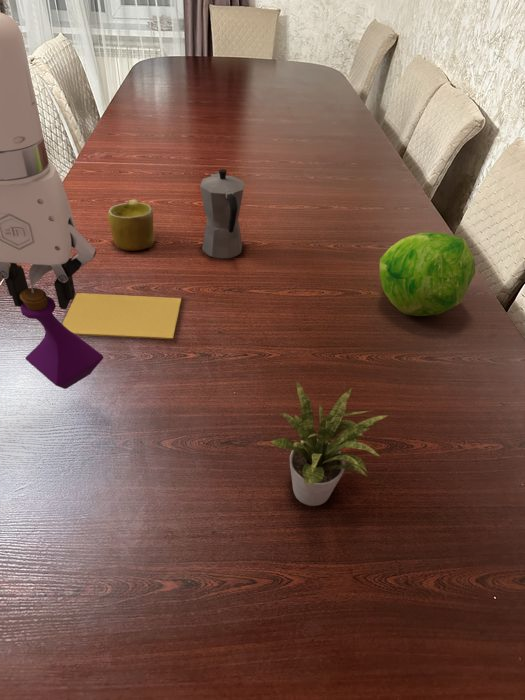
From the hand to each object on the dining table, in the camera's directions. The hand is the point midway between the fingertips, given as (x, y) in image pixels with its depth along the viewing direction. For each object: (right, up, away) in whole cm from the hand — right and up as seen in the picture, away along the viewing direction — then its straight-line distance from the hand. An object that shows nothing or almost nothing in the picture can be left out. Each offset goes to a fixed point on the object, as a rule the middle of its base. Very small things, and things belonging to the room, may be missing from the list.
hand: (44, 299), depth 65 cm
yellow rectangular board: (+1, 0, +31) cm, 32 cm away
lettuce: (+57, +3, +39) cm, 70 cm away
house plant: (+34, -26, +5) cm, 43 cm away
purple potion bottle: (0, -10, +9) cm, 13 cm away
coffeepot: (+18, +16, +51) cm, 56 cm away
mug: (-2, +19, +53) cm, 56 cm away
